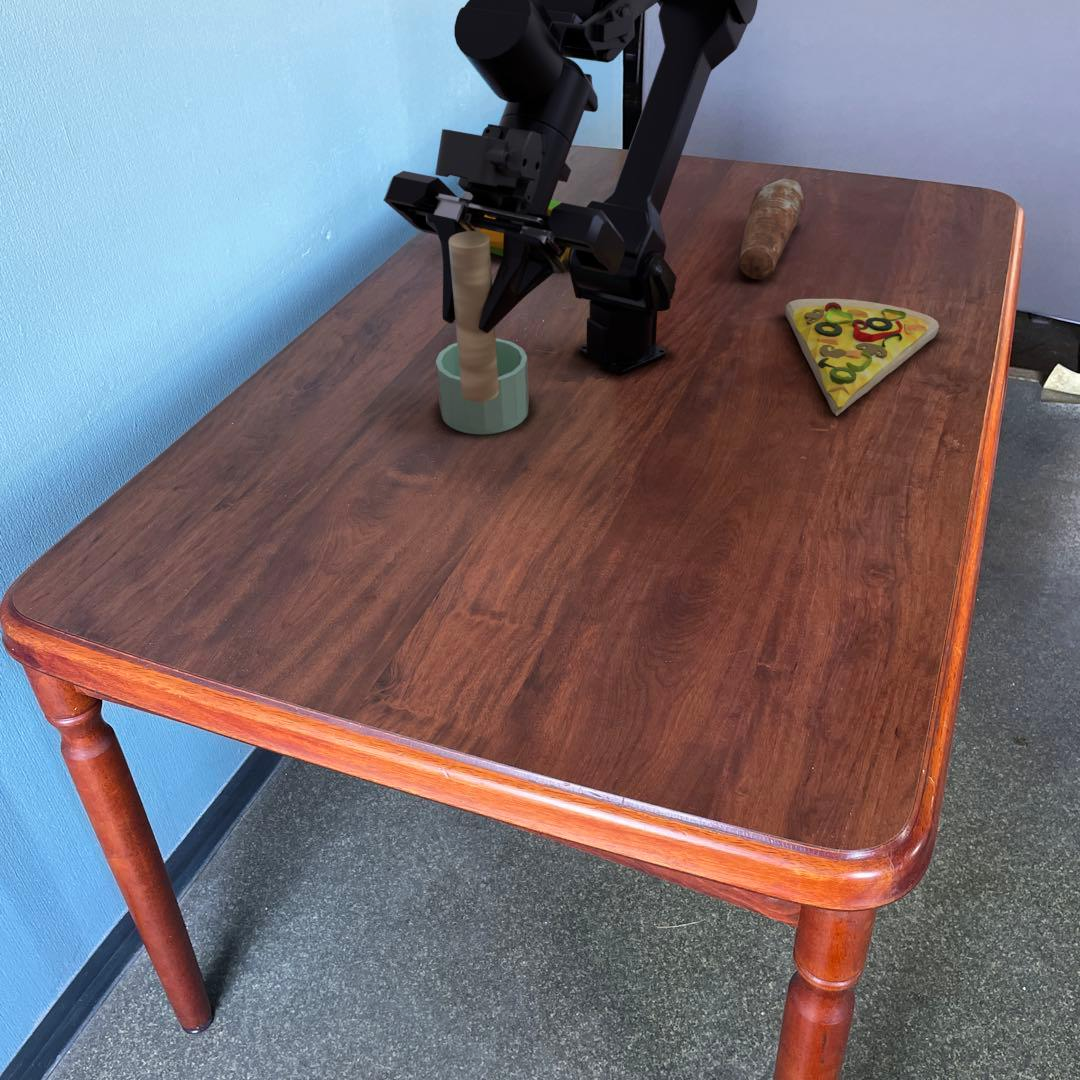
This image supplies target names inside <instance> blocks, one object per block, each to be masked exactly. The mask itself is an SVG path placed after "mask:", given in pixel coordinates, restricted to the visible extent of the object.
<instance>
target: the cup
mask: <svg viewBox="0 0 1080 1080" xmlns="http://www.w3.org/2000/svg"><path fill="white" fill-rule="evenodd" d="M496 353H497V370H498V386H499V393H498V395H497V396H496V397H495V398H494V399H492V400H489V401H485V402H472V401H469V400H466V399H465V398H464V397H463V396H462V392H461V380H460V368H459V357H458V345H457V342H454V343H451V344H449V345H447V346H446V347H445V348H444V349H442V350H441V351H440V352H439V353H438V356H437V357H436V360H435V371H436V381H437V392H438V404H439V410H440V415H441V418H442V420H443V422H444V423H445V424H446V425H447V426H448V427H450V428H451V429H453V430H455V431H458V432H461V433H465V434H471V435H492V434H493V435H494V434H499V433H502V432H506V431H509V430H511V429H514V428H516V427H517V426H519V425H520V424H522V423H523V422H524V420H525V419H526V418H527V416H528V414H529V404H530V396H529V392H530V391H529V368H528V367H529V366H528V363H529V362H528V356H527V354H526V351H525V350H524V348H523V347H521V346H520V345H517V344H516V343H514V342H513V341H510V340H505V339H502V338H498V337H496Z"/></svg>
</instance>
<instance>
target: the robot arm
mask: <svg viewBox="0 0 1080 1080" xmlns="http://www.w3.org/2000/svg"><path fill="white" fill-rule="evenodd" d="M758 1H759V0H468V1H467V2H466V4H465V5H464V6H462V7H460V8H459V11H458V13H457V15H456V17H455V23H454V26H453V27H454V30H453V32H454V33H453V35H454V39H455V43H456V45H457V47H458V49H459V51H460V52H461V53H462V54H463V56H464V57H465V58H466V59H467V61H468V62H469V63H470V64H471V66H472V67H473V68H474V70H475V71H476V72H477V73H478V75H479V76H480V77H481V78H482V80H483V81H484V83H486V85H487V86H488V87H489V89H490V90H491V91H492V92H493V94H494V95H495V96H496V97H498V98H499V99H500V100H502V101H505V102H506V104H505V107H504V109H503V112H502V114H501V117H500V120H499V123H498V125H497V124H491V123H488V124H487V126H486V127H484V129H483V131H482V133H481V135H480V134H474V133H469V132H465V131H464V132H463V131H457V130H452V129H446V128H442V129H441V135H440V141H439V147H438V155H437V160H436V166H435V167H436V168H435V173H434V174H435V176H432V175H428V174H422V173H417V172H412V171H406V170H402V171H400V172H398V173H397V174H395V175H393V176H392V178H391V179H390V181H389V184H388V186H387V188H386V192H385V195H384V197H383V202H384V203H386V204H387V205H388V206H389V207H390V208H392V209H393V210H394V211H395V212H396V213H397V214H398V215H399V216H401V217H402V218H403V219H404V220H406V221H407V222H408V223H409V224H410V225H411V226H412V227H413V228H414V229H417V230H419V231H421V232H423V233H426V234H431V235H435V236H438V239H439V242H440V246H441V256H442V257H441V258H442V311H441V312H442V315H441V317H442V320H443V321H444V322H445V323H447V324H451V325H452V324H454V322H455V310H454V299H453V287H452V276H451V264H450V252H449V238H450V237H451V236H453V235H455V234H457V233H461V232H467V231H476V232H480V230H481V229H486V230H490V231H495V232H499V233H504V240H503V256H502V259H501V262H500V265H499V267H498V269H497V272H496V275H495V276H494V280H493V281H492V287H491V290H490V292H489V295H488V298H487V300H486V303H485V305H484V308H483V311H482V315H481V319H480V323H479V329H480V330H481V331H482V332H484V333H489V332H490V331H491V330H492V329H493V328H494V327H495V328H496V326H497V325H498V324H499V323H501V322H502V320H503V319H504V318H505V317H506V316H507V315H508V314H509V313H511V311H512V310H513V309H514V308H515V307H516V306H517V305H518V304H519V303H520V302H521V301H522V300H523V299H524V298H525V297H527V296H528V295H529V294H530V293H531V292H532V291H534V290H535V289H536V288H538V287H539V286H540V285H541V284H542V283H543V282H545V281H546V280H547V279H549V277H551V276H552V275H553V274H559V275H562V274H564V273H565V271H566V266H565V265H564V263H563V262H564V260H565V259H564V257H565V254H566V251H567V249H568V248H570V252H569V256H568V259H567V265H568V271H569V276H570V279H571V285H572V289H573V292H574V296H575V299H578V300H582V299H583V300H587V301H589V317H587V319H586V344H583V345H580V346H579V350H578V351H579V353H580V354H581V355H583V356H585V357H587V358H589V360H591V361H593V362H595V363H597V364H598V365H600V366H602V367H603V368H605V369H607V370H608V371H610V372H612V373H614V374H615V375H618V376H619V375H620V376H622V375H624V374H627V373H629V372H632V371H634V370H636V369H639V368H641V367H644V366H647V365H649V364H651V363H653V362H655V361H658V360H660V359H662V358H665V357H666V356H667V350H666V349H664V348H662V347H660V346H659V345H657V332H658V331H657V329H658V313H659V312H665V311H668V310H670V309H671V305H672V304H671V302H672V301H671V300H673V297H674V294H675V291H676V284H677V283H676V282H677V275H676V274H675V273H674V271H673V269H672V268H671V267H670V265H669V264H668V262H667V261H666V260H665V254H666V250H667V241H666V237H665V232H664V228H663V227H664V226H663V223H662V218H661V214H662V211H663V208H664V205H665V203H666V199H667V196H668V193H669V191H670V188H671V186H672V182H673V179H674V177H675V174H676V172H677V167H678V165H679V162H680V159H681V157H682V154H683V151H684V148H685V145H686V143H687V140H688V137H689V135H690V131H691V129H692V126H693V123H694V120H695V117H696V115H697V112H698V110H699V106H700V103H701V100H702V97H703V95H704V93H705V90H706V86H707V84H708V80H709V79H710V75H711V73H712V71H713V70H714V69H715V68H717V67H718V66H719V65H720V64H721V63H722V62H724V61H725V60H726V59H727V58H728V57H730V56H731V55H732V54H733V53H734V52H735V51H736V50H737V49H738V47H739V45H740V43H741V41H742V38H743V36H744V34H745V32H746V30H747V27H748V26H749V24H751V22H753V19H754V17H755V14H756V12H757V9H758V8H757V7H758ZM656 4H658V6H659V7H660V8H659V11H658V21H659V26H660V31H661V35H662V40H663V45H664V48H663V51H662V54H661V58H660V60H659V63H658V66H657V69H656V71H655V75H654V77H653V79H652V83H651V85H650V88H649V90H648V93H647V96H646V100H645V102H644V104H643V108H642V111H641V114H640V116H639V119H638V122H637V124H636V128H635V130H634V134H633V136H632V139H631V142H630V145H629V147H628V150H627V153H626V156H625V159H624V162H623V165H622V168H621V169H620V173H619V175H618V179H617V181H616V184H615V187H614V190H613V192H612V193H611V194H610V195H609V196H608V197H606V198H605V199H604V200H603V201H599V200H598V201H597V200H591V201H590V202H589V203H588V204H587V206H581V205H577V204H572V203H567V202H562V203H560V204H559V205H557V206H556V207H554V208H553V209H552V212H551V215H549V214H548V213H547V210H548V208H549V205H550V202H551V200H552V199H553V197H554V194H555V191H556V188H557V186H558V183H559V182H562V183H563V182H564V183H568V180H569V178H570V175H571V172H572V169H571V167H569V165H568V164H567V163H566V161H567V158H568V156H569V153H570V151H571V148H572V145H573V142H574V140H575V136H576V134H577V132H578V129H579V126H580V124H581V120H582V119H583V116H584V112H591V113H596V112H597V111H598V110H599V109H598V108H599V100H598V95H597V93H596V91H595V89H594V86H593V76H592V74H590V73H585V72H584V71H583V69H582V67H581V66H580V64H578V63H577V62H575V61H574V60H573V59H578V60H584V61H585V60H586V61H591V62H597V63H606V64H608V63H610V62H613V61H614V60H615V59H617V57H618V56H619V55H620V54H621V53H622V52H623V50H625V48H626V47H627V46H628V45H629V43H630V42H631V41H632V40H633V39H634V38H635V31H636V30H635V21H636V19H637V18H638V17H639V16H641V15H642V14H643V13H645V12H646V11H647V10H649V9H650V8H651V7H653V6H654V5H656ZM571 58H572V59H571ZM437 176H439V177H444V178H448V177H450V176H451V177H456V178H459V180H458V182H457V185H458V186H459V187H460V188H461V189H462V190H463V191H464V192H466V193H470V195H472V196H471V198H470V199H468V198H463V197H459V196H458V195H457V194H455V193H454V191H452V190H451V188H449V186H448V185H446V184H445V183H444V181H443V180H441V178H439V177H437ZM485 215H487V216H488V217H491V218H488V217H484V216H485ZM493 218H495V219H493Z"/></svg>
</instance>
